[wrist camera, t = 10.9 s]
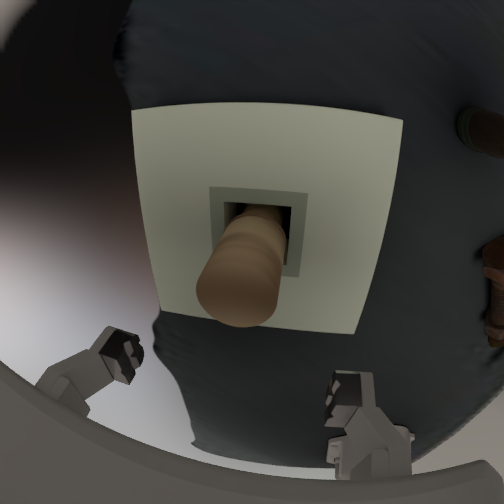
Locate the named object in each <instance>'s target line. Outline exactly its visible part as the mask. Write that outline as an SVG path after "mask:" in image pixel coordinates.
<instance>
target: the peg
mask: <svg viewBox="0 0 504 504" xmlns="http://www.w3.org/2000/svg"><path fill="white" fill-rule="evenodd" d="M282 221H283V208H282V206H278V205H266V204H253V203H247V205H246V207H245V209H244V211H243V213H242V214H240V215H238V216H236V217H234V218H233V219H232V220H231V221H230V222H229V223H228V225H227V226H226V228H225V230H224V232H223V235H222V237H221V238H220V240H219V242H218V244H217V245H216V247H215V249H214V251H213V253H212V254H211V256H210V258H209V260H208V262H207V263H206V265H205V267H204V269H203V271H202V273H201V274H200V276H199V278H198V280H197V284H196V295H197V298H198V301H199V303H200V305H201V306H202V307H203V309H204V310H205V311H206V312H207V313H208V314H209V315H210V316H212V317H213V318H214V319H216V320H218V321H220V322H222V323H224V324H227V325H230V326H235V327H252V326H256V325H259V324H262V323H264V322H265V321H267V320H268V319H269V318H270V317H271V316H272V315H273V314H274V312H275V310H276V307H277V302H278V295H279V288H280V282H281V275H282V268H283V260H284V255H285V251H286V236H285V233H284V230H283V229H282V227H281V226H282Z"/></svg>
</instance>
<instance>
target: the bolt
mask: <svg viewBox="0 0 504 504" xmlns="http://www.w3.org/2000/svg"><path fill="white" fill-rule="evenodd" d="M482 253H483V276H485V277H487V278H489V279H491V307H490V308H488V309H487V311H486V323H485V332H486V333H487V334H488V342H489V345H490V346H491V348H494V347H496V348H497V347H501V346H504V236H503V237H498V238H496V239H494V240H492V241H490V242H489V243H487V244H486V245H485V246H484V247H483V248H482Z"/></svg>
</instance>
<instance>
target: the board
mask: <svg viewBox="0 0 504 504" xmlns="http://www.w3.org/2000/svg"><path fill="white" fill-rule="evenodd" d="M402 125H403V120H400V119H396V118H392V117H387V116H383V115H377V114H372V113H366V112H360V111H354V110H347V109H339V108H331V107H323V106H313V105H301V104H287V103H264V102H219V103H196V104H182V105H170V106H161V107H153V108H146V109H139V110H133V111H132V127H133V141H134V152H135V162H136V171H137V180H138V188H139V196H140V203H141V209H142V216H143V222H144V228H145V234H146V240H147V246H148V251H149V256H150V261H151V266H152V271H153V276H154V280H155V285H156V289H157V294H158V298H159V302H160V306H161V310H163V311H168V312H173V313H179V314H185V315H190V316H196V317H203V318H209V319H214V318H213V317H212V316H210V315H209V314H208V313H207V312H206V311H205V310H204V309H203V307H202V306H201V305H200V303H199V301H198V298H197V295H196V284H197V280H198V278H199V276H200V274H201V273H202V271H203V269H204V267H205V265H206V263H207V262H208V260H209V258H210V256H211V254H212V253H213V251H214V249H215V247H216V245H217V244H218V242H219V240H220V238H221V237H222V235H223V232H224V230H225V228H226V226H227V225H228V223H229V222H230V221H231V220H232V219H233V218H234V217H236V216H237V202H238V203H253V204H266V205H278V206H289V207H292V209H291V222H290V234H289V239H286V251H285V255H284V260H283V268H282V275H281V282H280V288H279V295H278V302H277V307H276V310H275V312H274V314H273V315H272V316H271V317H270V318H269V319H268V320H267V321H265V322H264V323H262V324H259V326H267V327H276V328H285V329H294V330H305V331H316V332H328V333H342V334H354V332H355V330H356V327H357V324H358V321H359V318H360V315H361V312H362V309H363V306H364V303H365V300H366V297H367V294H368V290H369V287H370V284H371V280H372V277H373V274H374V270H375V266H376V263H377V259H378V255H379V252H380V248H381V244H382V240H383V236H384V231H385V227H386V223H387V218H388V213H389V209H390V204H391V199H392V193H393V188H394V182H395V177H396V171H397V164H398V157H399V150H400V143H401V134H402ZM215 320H216V319H215Z"/></svg>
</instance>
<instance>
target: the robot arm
mask: <svg viewBox="0 0 504 504" xmlns="http://www.w3.org/2000/svg"><path fill="white" fill-rule="evenodd" d="M139 341H140V339H139V337H138V335H136V334H133V333H130V332H126V331H123V330H120V329H117V328H114V327H111V326H108V327H106V328H105V329H104V331H103V332H102V333H101V334H100V336H99V337H98V338H97V340H96V341H95V342H94V344H93V345H92V346H91V348H90V349H89V350H87V349H86V350H84V351H81V352H79V353H77V354H75V355H73V356H71V357H69V358H67V359H65V360H62V361H60V362H58V363H56V364H54V365H52V366H50V367H48V368H47V370H46V371H45V372H44V374H43V375H42V376H41V378H40V379H39V381H38V382H37V383H36V385H35V386H34V385H32V384H31V383H29V382H28V381H26V380H25V379H24V378H22V377H21V376H20V375H18V374H17V373H15V372H14V371H13V370H11V369H10V368H9V367H8V366H6V365H5V364H4V363H3V362H2V361H0V504H504V483H503V479H502V477H501V476H500V474H499V473H498V472H497V471H496V470H495V469H494V468H493V467H492V466H491V465H490V464H489V463H488V462H487V461H485V460H477V461H474V462H470V463H467V464H463V465H459V466H455V467H451V468H446V469H442V470H437V471H432V472H427V473H421V474H414V475H412V469H411V468H412V467H411V441H413V440H414V439H415V434H413V433H410V432H409V431H408V429H407V428H406V427H403V426H396V425H393V424H392V423H391V421H390V420H389V419H388V418H387V416H386V415H385V414H384V413H383V411H382V410H381V409H380V407H376V402H375V391H374V382H373V374H372V373H371V372H358V371H339V370H335V371H334V372H333V374H332V381H330V382H329V384H328V387H327V391H326V400H325V403H326V405H327V406H328V407H327V409H326V411H325V420H324V426H328V427H342V428H344V429H345V431H346V433H347V435H346V436H342V437H336V438H332V439H329V441H328V449H327V456H326V462H328V463H333V464H336V467H335V478H336V479H337V480H318V479H301V478H290V477H280V476H271V475H264V474H258V473H252V472H246V471H240V470H235V469H230V468H225V467H221V466H217V465H212V464H208V463H204V462H200V461H197V460H193V459H190V458H186V457H182V456H180V455H176V454H173V453H170V452H167V451H164V450H161V449H158V448H156V447H153V446H150V445H147V444H145V443H142V442H140V441H137V440H134V439H132V438H130V437H127V436H125V435H122V434H120V433H118V432H116V431H113V430H111V429H109V428H107V427H105V426H103V425H101V424H99V423H97V422H95V421H93V420H91V419H89V418H87V415H88V413H89V411H90V408H89V406H88V405H87V403H86V402H85V401H84V400H86V399H87V398H89V397H90V396H92V395H93V394H95V393H96V392H98V391H99V390H101V389H102V388H104V387H105V386H107V385H108V384H110V383H111V382H113V381H114V380H116V381H119V382H122V383H125V384H128V385H130V383H131V381H132V379H133V378H134V376H135V369H136V368H138V367H140V366H141V364H142V362H143V358H144V350H143V347H142V346H141V345H140V344H139Z"/></svg>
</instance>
